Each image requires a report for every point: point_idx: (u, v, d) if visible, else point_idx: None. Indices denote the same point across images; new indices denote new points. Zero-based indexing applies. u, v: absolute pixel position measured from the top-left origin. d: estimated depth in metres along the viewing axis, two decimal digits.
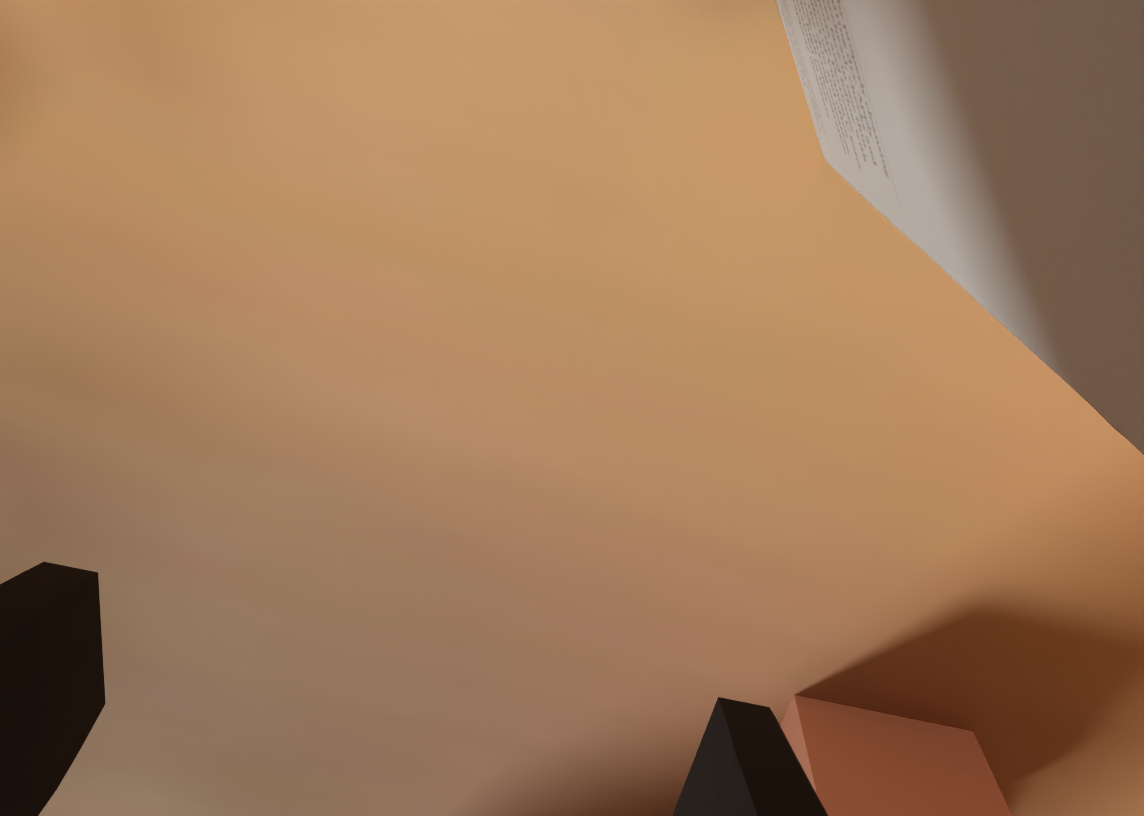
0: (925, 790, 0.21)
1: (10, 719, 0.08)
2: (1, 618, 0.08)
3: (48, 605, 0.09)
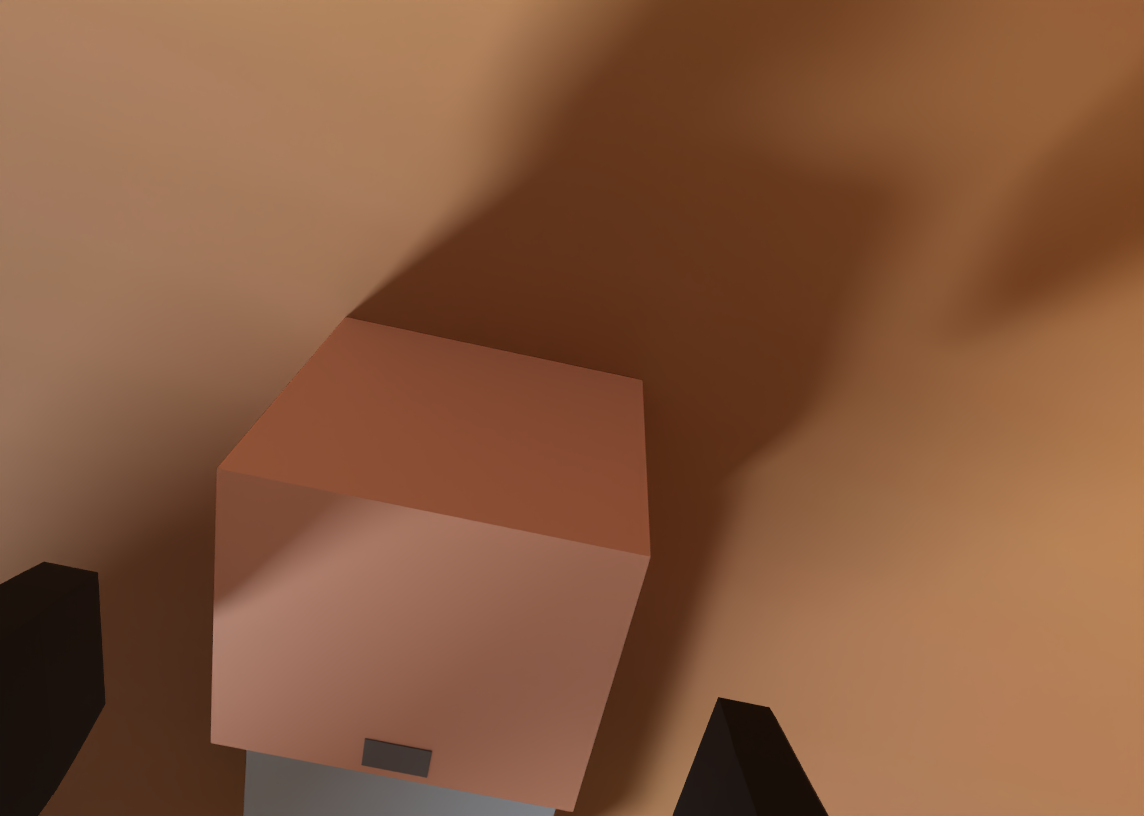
0: (499, 418, 0.12)
1: (10, 719, 0.08)
2: (1, 618, 0.08)
3: (48, 605, 0.09)
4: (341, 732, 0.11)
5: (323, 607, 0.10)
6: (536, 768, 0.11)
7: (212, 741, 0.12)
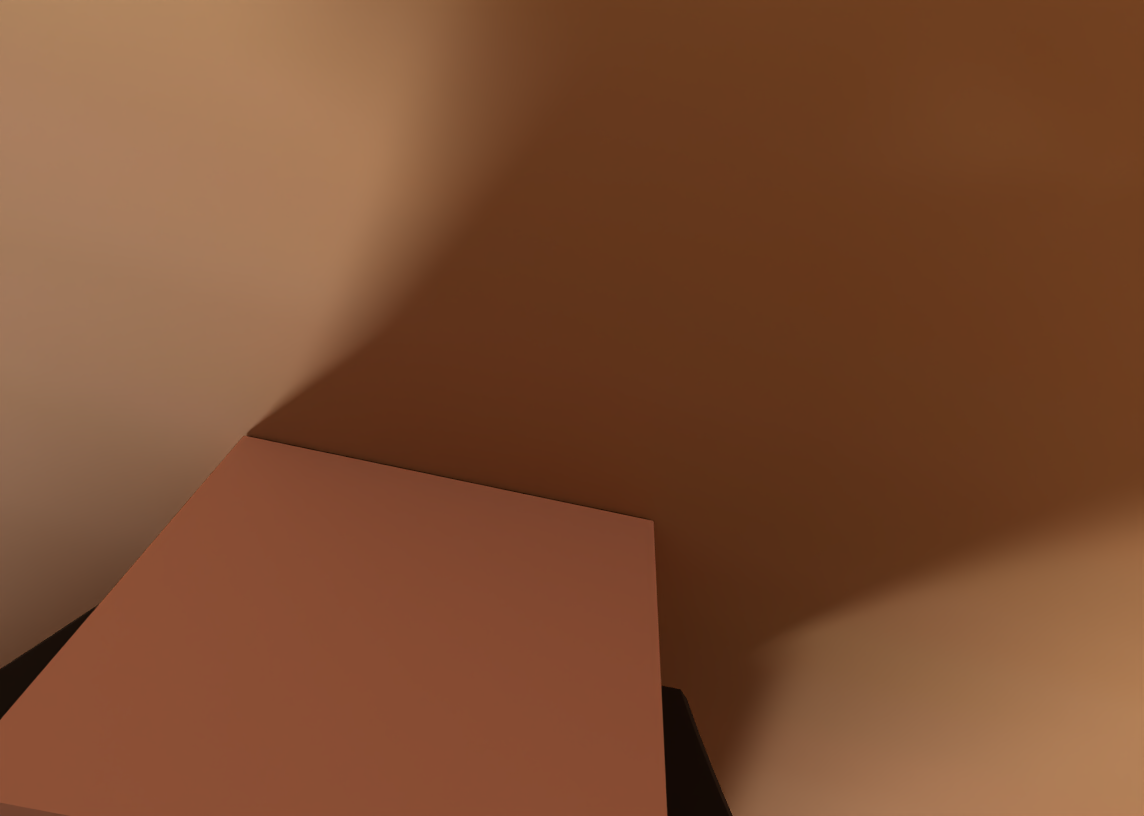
0: (441, 620, 0.08)
1: None
2: None
3: None
4: None
5: None
6: None
7: None
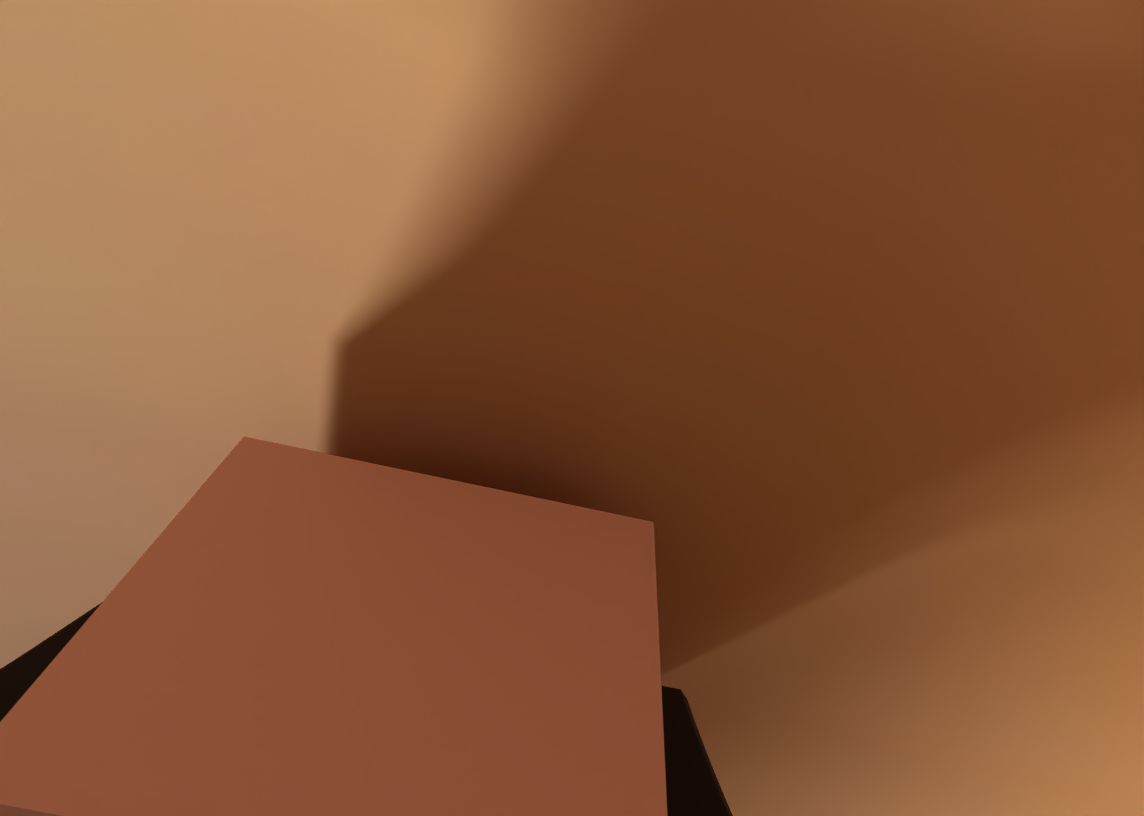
0: (442, 621, 0.08)
1: None
2: None
3: None
4: None
5: None
6: None
7: None
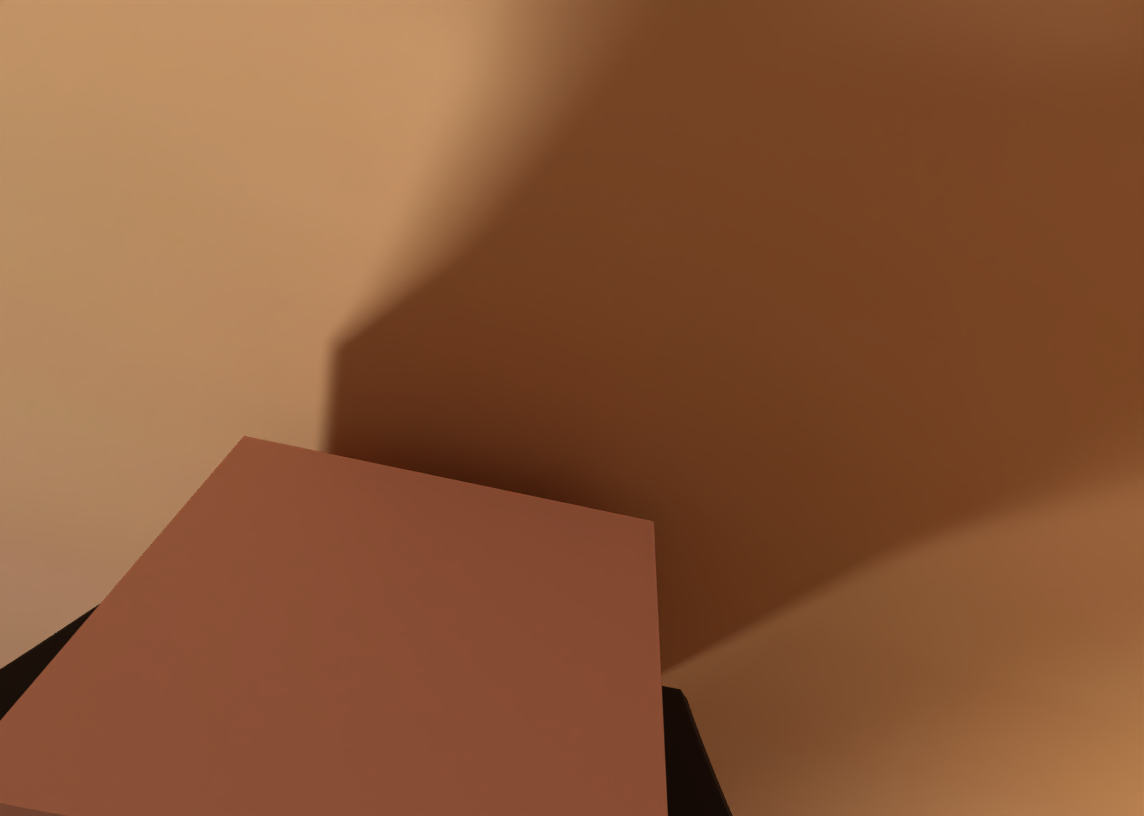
0: (442, 620, 0.08)
1: None
2: None
3: None
4: None
5: None
6: None
7: None
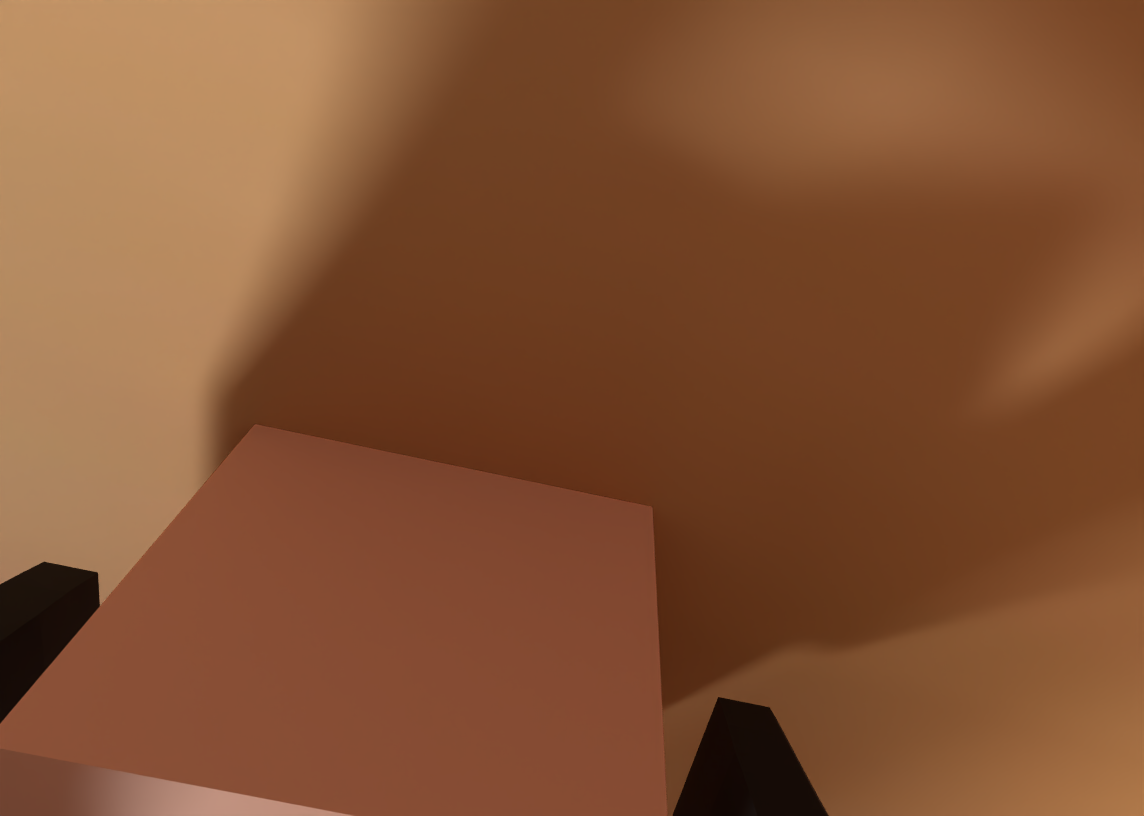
0: (450, 595, 0.08)
1: None
2: (1, 618, 0.08)
3: (48, 605, 0.09)
4: None
5: None
6: None
7: None
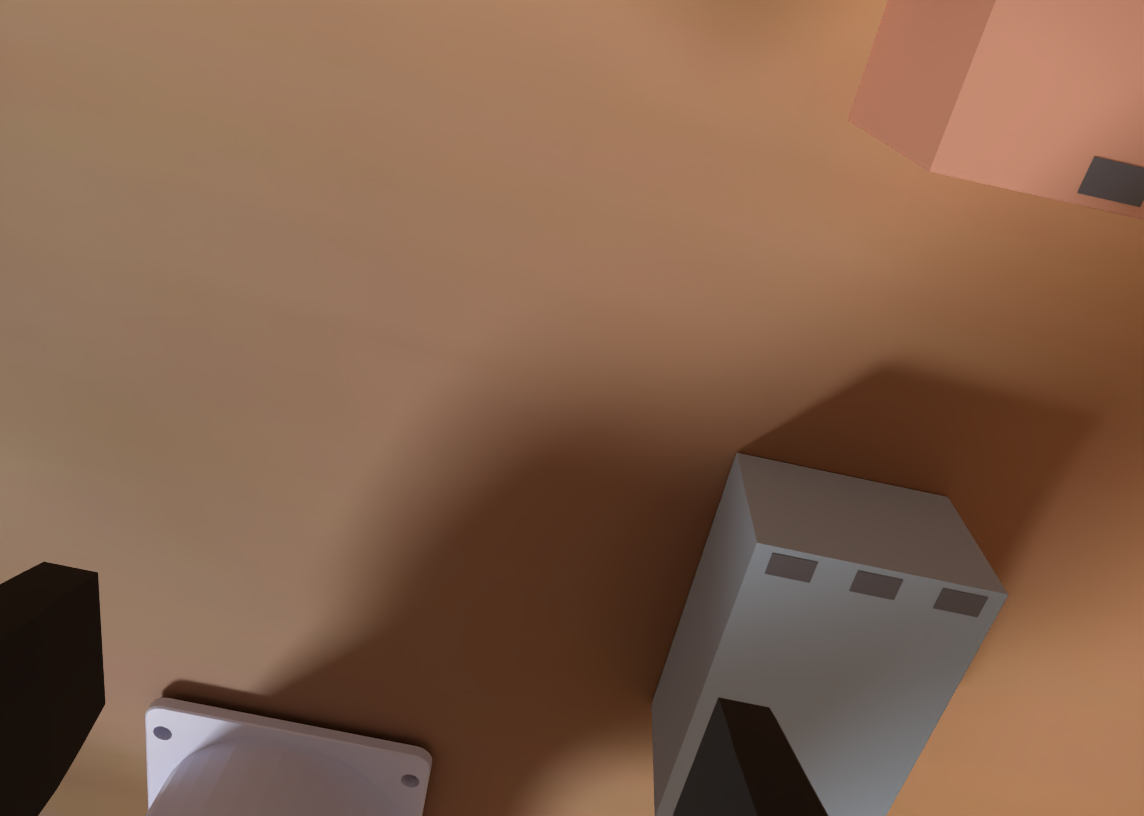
0: None
1: (10, 719, 0.08)
2: (1, 618, 0.08)
3: (48, 605, 0.09)
4: (1072, 151, 0.11)
5: None
6: None
7: (931, 169, 0.12)
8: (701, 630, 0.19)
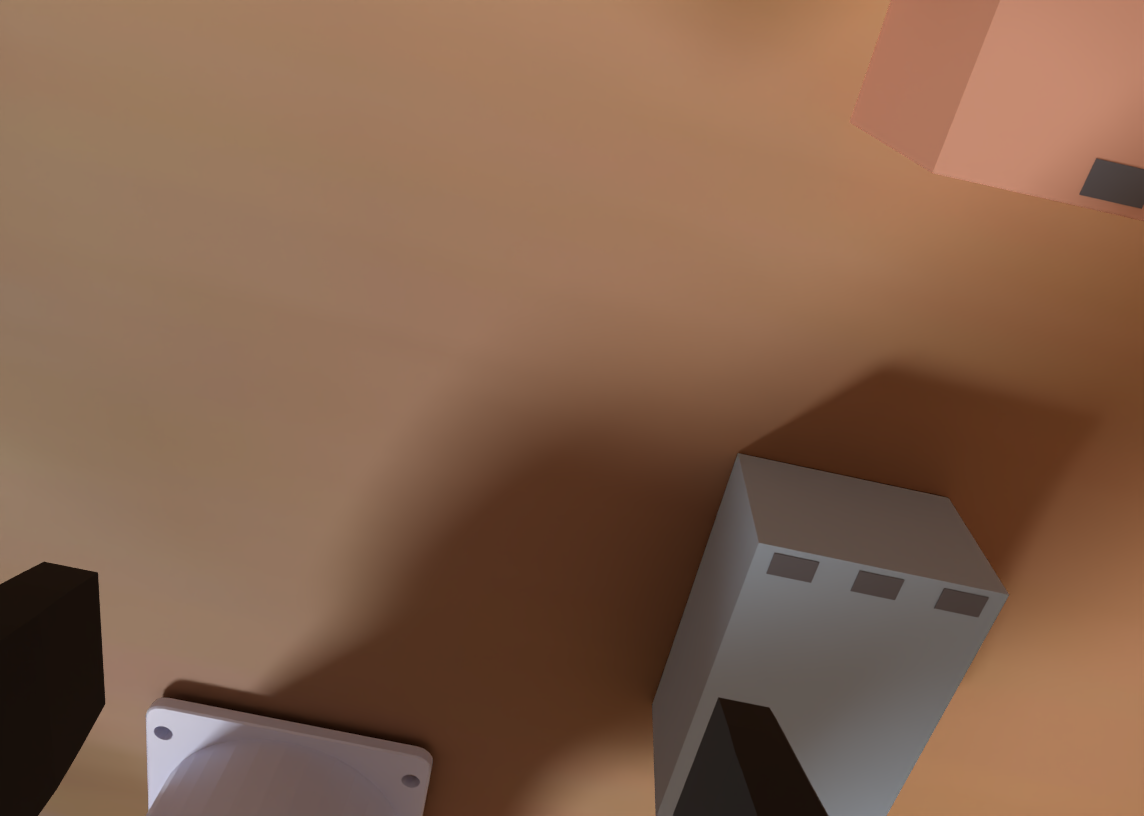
0: None
1: (10, 719, 0.08)
2: (1, 618, 0.08)
3: (48, 605, 0.09)
4: (1074, 152, 0.12)
5: None
6: None
7: (934, 171, 0.12)
8: (702, 630, 0.19)
